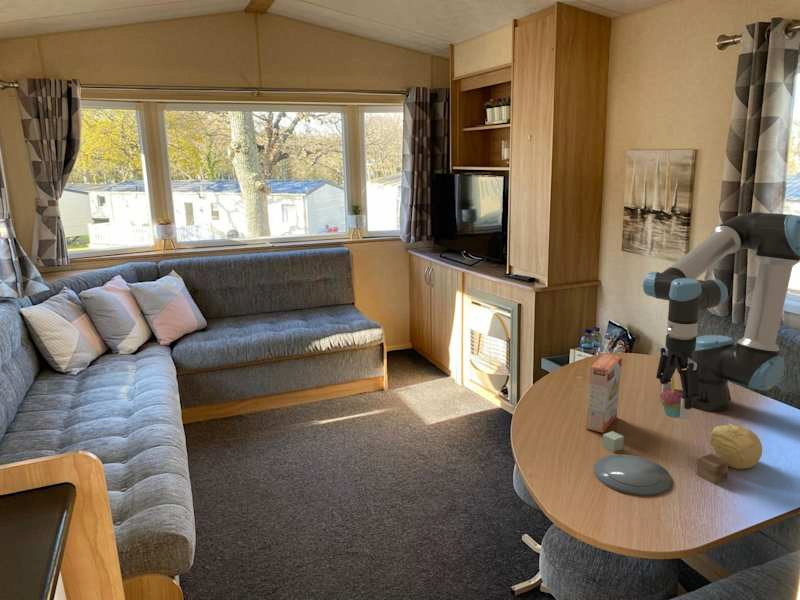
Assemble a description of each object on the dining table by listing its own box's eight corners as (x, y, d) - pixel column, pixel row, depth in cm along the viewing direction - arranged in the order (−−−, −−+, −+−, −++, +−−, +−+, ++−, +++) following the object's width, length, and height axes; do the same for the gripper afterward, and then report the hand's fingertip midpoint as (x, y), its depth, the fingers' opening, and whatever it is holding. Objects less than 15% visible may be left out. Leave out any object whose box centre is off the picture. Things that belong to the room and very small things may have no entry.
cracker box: (604, 434, 182) (609, 369, 176) (585, 429, 185) (589, 366, 180) (618, 417, 192) (623, 356, 187) (599, 413, 196) (603, 353, 191)
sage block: (611, 443, 176) (612, 431, 175) (622, 448, 173) (623, 436, 172) (602, 446, 174) (603, 434, 173) (613, 452, 171) (614, 440, 170)
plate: (643, 454, 169) (644, 450, 169) (686, 490, 151) (687, 486, 151) (581, 461, 166) (581, 457, 166) (618, 499, 148) (618, 495, 148)
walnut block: (709, 470, 161) (711, 453, 159) (726, 479, 156) (728, 462, 155) (696, 474, 159) (698, 458, 157) (713, 484, 154) (715, 466, 153)
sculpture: (701, 458, 167) (705, 422, 164) (730, 449, 172) (735, 414, 169) (738, 478, 157) (743, 440, 154) (768, 467, 161) (774, 431, 159)
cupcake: (675, 423, 163) (678, 382, 160) (651, 411, 171) (654, 372, 168) (697, 417, 167) (701, 377, 164) (673, 405, 174) (676, 367, 171)
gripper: (646, 325, 172) (641, 398, 178) (694, 349, 152) (686, 430, 158) (670, 323, 173) (664, 395, 179) (720, 346, 153) (711, 426, 159)
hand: (674, 411), depth 169 cm, fingers closed on cupcake, 8 cm apart
